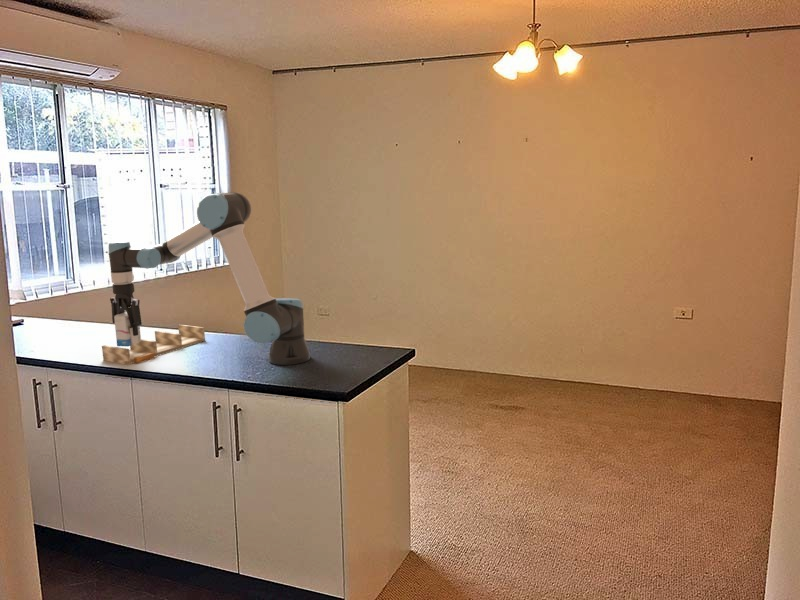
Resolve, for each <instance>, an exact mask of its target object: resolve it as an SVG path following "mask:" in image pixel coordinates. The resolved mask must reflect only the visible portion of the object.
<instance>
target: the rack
mask: <svg viewBox="0 0 800 600" xmlns="http://www.w3.org/2000/svg"><path fill="white" fill-rule="evenodd" d="M154 337H155V338H154V339H155V340H150V339H144V338H141V341H140V342H139V343H137V344H133V345H131V346H129V347H130V348H126V347H125V348H124V347H120V346H112V345H106V344H105V345H104V344H103V345H101V352H102V359H103V361H105V362H109V363H110V362H111V363H117V364H121V365H122V364H123V365H129V366H130V365H133V364H140V363H143V362H146V361H148V360H152V359H155V358H156V357H157V355H158V356H160V354H161V355H164V354H167V353H166V352H168V353H170V351H171V352H173V350H174V351H177V350H180V349H183V348H182V347H184V348H186V346H187V347H190V346H193V345H196V344H198V343H199V342H200V343H203V342H206V334H205V327H204V326H202V327H201V326H194V325H188V324H187V325H186V324H178V333H174V332H167V331H162V330H161V331H160V330H155V331H154ZM202 341H203V342H202ZM200 343H199V344H200ZM192 344H193V345H192ZM189 345H190V346H189ZM179 348H180V349H179ZM176 349H177V350H176ZM163 353H164V354H163Z"/></svg>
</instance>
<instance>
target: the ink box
mask: <svg viewBox="0 0 800 600" xmlns="http://www.w3.org/2000/svg"><path fill="white" fill-rule="evenodd" d="M114 320H115V323H114V328H115V337H116V347H130V346H131V345H132V344H131V336H130V327H131V324H130V321H129V316H128V315H127V311H126V312H125V313H121V314H118V315H115V316H114ZM140 326H141V325H140ZM140 326H138V342H140V341H141V339H142V337H141V327H140Z"/></svg>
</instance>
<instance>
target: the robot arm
mask: <svg viewBox="0 0 800 600" xmlns="http://www.w3.org/2000/svg"><path fill="white" fill-rule="evenodd" d="M251 214H252V206H251V202H250V200H249V198H247V197H246V196H245V195H244V194H241V193H239V192H237V191H235V192H234V191H232V192H231V191H230V192H220V193H219V192H214V193H210V194H207V195H205V196H204V197H202V198H201V200H200V201H199V203H198V206H197V209H196V215H197V220H198V221H197V222H195V223H194V224H192V225H190V226H187V228H185V229H183V230H182V231H179V232H178V233H177V234H175V235H174V236H173V235H172V237H170V238H169V239H167V240H165V241H164V242H162V243H159V244H154V245H148V246H139V247H138V246H137V247H136V246H135V247H133V246H131V244H130V241H128V240H127V241H126V240H118V241H111V242H109V243H108V259H109V267H110V277H111V278H110V280H111V283H112V285H111V287H112V288H111V289H112V294H114V295H115V296H114V297H110V299H109V301H110V303H111V319H112V321H111V322H112V324H115V320H114V316H115V315H118V314H121V313H125V311H126V312H127V315H128V316H129V321H130V324H131V327H130V336H131V344H132V345H133V344H137V343H139V342H138V326H142V324H143V323H142V317H141V310H140V299H136V298H134V295H133V294H134V292H135V283H134V275H133V273H134V272H133V268H135V269H136V268H138V269H147V270H148V269H154V268H157V267H158V266H159V265H163V264H170V263H174V262H176V261H179V260H180V258H181V256H183V255H185V254H186V253H188V252H189V251H192V250H193V249H194V248H197V247H198V246H200V245H201V244H203V243H205V242H207V241H208V240H210V239H212V238H213V239H216V240H218V241H219V244H220V247H221V248H222V251H223V253H224V255H225V257H226V260H227V263H228V265H229V268H230V270H231V273H232V275H233V277H234V281H235V282H236V284H237V287H238V289H239V292H240V294H241V296H242V299H243V301H244V303H245V306H244V308H243V312H244V315H245V319H244V322H243V329H244V333H245V334H246V335H247V337H248V338H249V339H250V340H251V341H253V342H254V343H257V344H261V345H263V344H269V343H271V345H270V349H269V353H268V363H271V364H273V365H278V366H279V365H280V366H292V365H300V364H302V363H306V362H308V361H309V360H311V352H310V349H309V347H308V343H307V341H306V339H305V324H304V323H305V322H304V319H305V318H304V307H303V301H302V300H301V299H300V298H291V297H290V298H289V297H279V298H277V297H273V296H272V295H270V294H269V291H268V290H267V286H266V284H265V282H264V280H263V276H262V274H261V272H260V269H259V267H258V265H257V262H256V260H255V258H254V255H253V252H252V251H251V248H250V245H249V243H248V240H247V239H246V236H245V232H244V228H245V226H246V224H245V223H246V222H247V221H248V220H249V219H250V216H251Z"/></svg>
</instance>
